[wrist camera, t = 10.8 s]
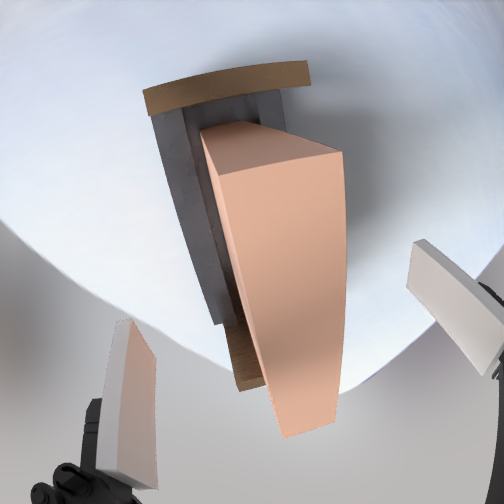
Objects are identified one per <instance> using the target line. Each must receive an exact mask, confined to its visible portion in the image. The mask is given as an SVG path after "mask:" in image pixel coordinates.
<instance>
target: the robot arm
mask: <svg viewBox="0 0 504 504" xmlns="http://www.w3.org/2000/svg"><path fill="white" fill-rule="evenodd" d="M406 288H407V289H408V290H409V291H410V292H411V293H412V294H413V295H414V296H415V297H416V298H417V299H418V300H419V302H420V303H421V304H422V305H423V306H424V307H425V308H426V309H427V310H428V312H429V313H430V314H431V315H432V316H433V317H434V318H435V319H436V321H437V322H438V323H439V324H440V325H441V326H442V327H443V329H444V330H445V331H446V332H447V333H448V334H449V336H450V337H451V338H452V339H453V340H454V342H455V343H456V344H457V345H458V346H459V348H460V349H461V350H462V351H463V353H464V354H465V355H466V356H467V357H468V359H469V360H470V361H471V363H472V364H473V365H474V366H475V368H476V369H477V370H478V372H479V373H480V374H481V376H483V375H484V374H485V373H487V372H488V371H489V370H490V369H492V368H493V366H494V365H495V363H496V362H497V360H498V359H499V360H500V362H501V363H500V364H499V366H498V367H497V369H496V370H495V372H494V373H493V375H492V379H494V377H495V376H496V375H497V374H498V372H499V375H498V376H497V378H496V379H497V380H499V417H498V431H497V442H496V450H495V457H494V464H493V470H492V475H491V480H490V485H489V490H488V494H487V498H486V502H485V504H504V301H502V299H501V298H500V297H499V296H498V295H496V293H495V292H494V291H493V290H492V289H491V288H490V287H488V286H486V285H484V284H482V283H480V282H478V283H477V282H476V281H475V280H474V279H472V278H471V277H470V276H469V275H468V274H467V273H466V272H464V271H463V270H462V269H461V268H460V267H459V266H457V265H456V264H455V263H454V262H453V261H452V260H450V259H449V258H448V257H447V256H445V255H444V254H443V253H442V252H441V251H439V250H438V249H437V248H436V247H434V246H433V245H432V244H430V243H429V242H428V241H427V240H425V239H422V240H419V241H416V242H413V248H412V255H411V261H410V267H409V273H408V279H407V284H406ZM155 382H156V358H155V356H154V355H153V353H152V351H151V350H150V348H149V347H148V345H147V343H146V342H145V340H144V338H143V336H142V335H141V333H140V331H139V330H138V328H137V326H136V325H135V323H134V321H133V319H132V318H131V319H126V320H122V321H117V322H116V326H115V330H114V335H113V340H112V345H111V350H110V356H109V361H108V366H107V372H106V378H105V384H104V390H103V397H102V398H99V399H92V401H91V403H90V405H89V407H88V408H87V411H86V418H85V423H86V424H85V425H84V434H83V442H82V451H81V452H82V453H81V463H80V467H78V466H76V465H74V464H72V463H63V464H61V465H59V466H58V467H57V468H56V469H55V471H54V474H53V485H54V486H53V487H52V486H50V485H48V484H46V483H43V482H41V483H37V484H35V485H34V486H33V488H32V490H31V502H32V504H142V503H141V502H140V501H139V500H138V499H137V498H136V497H135V496H134V495H133V494H132V488H135V489H137V490H139V491H158V478H157V462H156V437H155V436H156V435H155Z"/></svg>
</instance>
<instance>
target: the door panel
mask: <svg viewBox="0 0 504 504" xmlns="http://www.w3.org/2000/svg"><path fill="white" fill-rule="evenodd" d="M199 131H200V136H201V140H202V144H203V149H204V153H205V157H206V162H207V166H208V170H209V175H210V179H211V183H212V187H213V192H214V196H215V200H216V204H217V208H218V212H219V216H220V220H221V225H222V229H223V233H224V237H225V241H226V245H227V249H228V253H229V257H230V261H231V264H232V268H233V272H234V276H235V280H236V284H237V288H238V292H239V295H240V299H241V302H242V306H243V309H244V313H245V316H246V320H247V323H248V326H249V330H250V333H251V337H252V340H253V343H254V347H255V350H256V353H257V357H258V360H259V363H260V367H261V370H262V373H263V377H264V380H265V383H266V386H267V390H268V393H269V396H270V399H271V402H272V406H273V409H274V412H275V415H276V418H277V422H278V424H279V428H280V431H281V433H282V437H283V439H284V438H288V437H291V436H294V435H297V434H301V433H304V432H307V431H309V430H313V429H316V428H319V427H322V426H324V425H327V424H330V423H333V422H335V415H336V408H337V400H338V393H339V384H340V375H341V364H342V353H343V340H344V325H345V305H346V267H347V241H346V203H345V183H344V168H343V155H342V151H339V150H337V149H334V148H331V147H328V146H326V145H323V144H320V143H317V142H314V141H311V140H308V139H305V138H302V137H299V136H296V135H292V134H289V133H286V132H283V131H279V130H276V129H272V128H269V127H265V126H262V125H258V124H254V123H250V122H247V121H243V120H241V121H236V122H231V123H227V124H222V125H217V126H213V127H209V128H204V129H200V130H199Z"/></svg>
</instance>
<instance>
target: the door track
mask: <svg viewBox="0 0 504 504" xmlns="http://www.w3.org/2000/svg"><path fill="white" fill-rule="evenodd" d="M310 85H311V82H310V76H309V70H308V64H307V60H305V61H289V62H278V63H268V64H259V65H252V66H245V67H238V68H232V69H226V70H220V71H215V72H210V73H205V74H201V75H196V76H192V77H187V78H183V79H179V80H175V81H172V82H168V83H164V84H161V85H157V86H154V87H150V88H147V89H144V90H143V94H144V99H145V103H146V108H147V112H148V116H151V120H152V124H153V128H154V132H155V136H156V140H157V144H158V148H159V152H160V155H161V159H162V163H163V167H164V170H165V174H166V177H167V181H168V185H169V188H170V192H171V195H172V198H173V202H174V205H175V209H176V212H177V215H178V219H179V222H180V225H181V228H182V232H183V235H184V238H185V241H186V244H187V247H188V250H189V254H190V257H191V260H192V263H193V266H194V269H195V272H196V275H197V278H198V280H199V283H200V286H201V289H202V292H203V295H204V298H205V301H206V303H207V306H208V309H209V312H210V314H211V317H212V320H213V323H214V325H217V324H221V323H223V325H224V328H225V333H226V338H227V343H228V348H229V353H230V358H231V363H232V367H233V372H234V377H235V381H236V385H237V387H238V390H239V392H241V391H245V390H249V389H253V388H257V387H260V386H264V385H266V383H265V380H264V377H263V373H262V370H261V367H260V363H259V360H258V357H257V353H256V350H255V347H254V343H253V340H252V337H251V333H250V330H249V326H248V323H247V320H246V316H245V313H244V309H243V306H242V302H241V299H240V295H239V292H238V288H237V284H236V280H235V276H234V272H233V268H232V264H231V261H230V257H229V253H228V249H227V245H226V241H225V237H224V233H223V229H222V225H221V220H220V216H219V212H218V208H217V204H216V200H215V196H214V192H213V187H212V183H211V179H210V175H209V170H208V166H207V162H206V157H205V153H204V149H203V144H202V140H201V136H200V131H199V130H200V129H204V128H209V127H213V126H217V125H222V124H227V123H231V122H236V121H241V120H243V121H247V122H250V123H254V124H258V125H262V126H265V127H269V128H272V129H276V130H279V131H283V132H286V127H285V121H284V114H283V108H282V102H281V97H280V91H279V90H280V89H287V88H294V87H302V86H310Z"/></svg>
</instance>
